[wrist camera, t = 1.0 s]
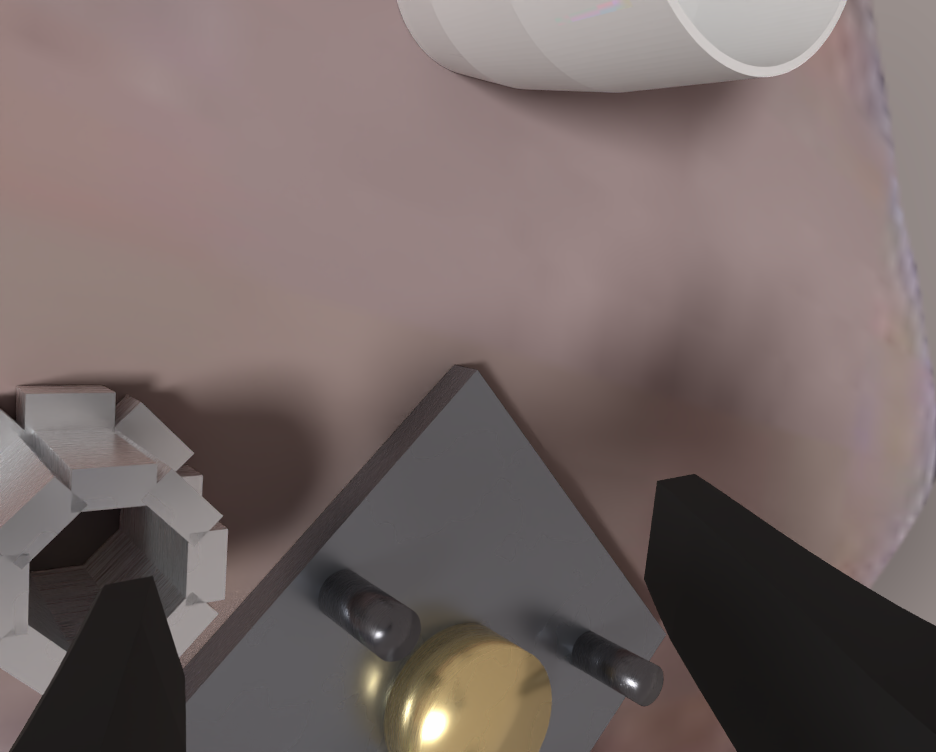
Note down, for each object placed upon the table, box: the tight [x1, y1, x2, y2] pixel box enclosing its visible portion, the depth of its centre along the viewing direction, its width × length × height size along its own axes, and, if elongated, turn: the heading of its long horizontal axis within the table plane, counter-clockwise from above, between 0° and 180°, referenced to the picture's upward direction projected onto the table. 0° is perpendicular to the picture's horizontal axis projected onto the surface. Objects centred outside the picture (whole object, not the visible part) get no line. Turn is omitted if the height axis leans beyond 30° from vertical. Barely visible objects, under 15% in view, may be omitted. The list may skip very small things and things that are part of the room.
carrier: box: [183, 365, 666, 752], centre depth 25 cm, size 15×15×4 cm
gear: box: [0, 385, 228, 695], centre depth 17 cm, size 6×6×5 cm
